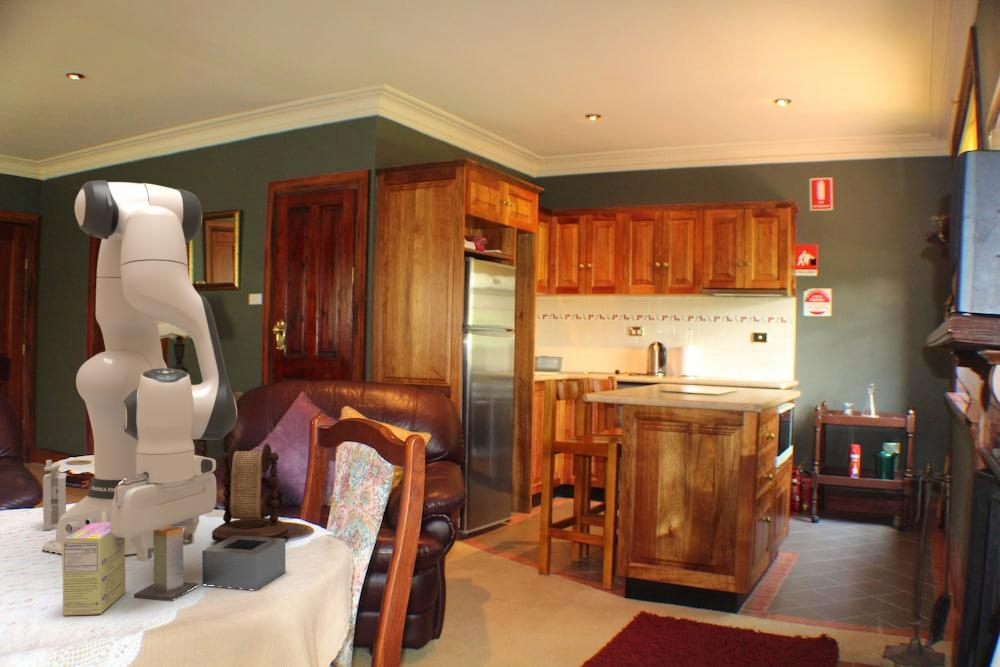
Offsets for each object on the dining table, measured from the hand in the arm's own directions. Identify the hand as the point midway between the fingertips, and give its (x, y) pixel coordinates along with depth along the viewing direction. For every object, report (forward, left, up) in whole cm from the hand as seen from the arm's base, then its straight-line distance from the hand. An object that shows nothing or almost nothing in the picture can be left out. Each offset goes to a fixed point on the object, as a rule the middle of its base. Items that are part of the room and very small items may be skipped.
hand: (166, 551), depth 133 cm
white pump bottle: (-50, +32, -7) cm, 60 cm away
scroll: (-2, +30, -7) cm, 31 cm away
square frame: (+9, +9, -7) cm, 14 cm away
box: (-7, -8, -7) cm, 13 cm away
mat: (0, 0, -7) cm, 7 cm away
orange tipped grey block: (+1, 0, -6) cm, 6 cm away
